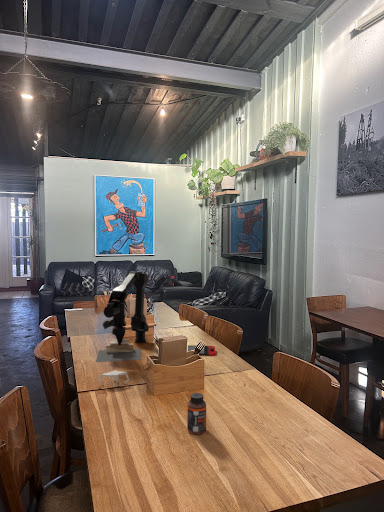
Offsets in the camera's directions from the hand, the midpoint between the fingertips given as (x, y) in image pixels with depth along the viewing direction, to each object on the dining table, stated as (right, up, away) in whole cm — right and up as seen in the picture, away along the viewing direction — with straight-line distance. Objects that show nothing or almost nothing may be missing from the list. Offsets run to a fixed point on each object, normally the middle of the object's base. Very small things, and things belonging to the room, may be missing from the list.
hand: (119, 343), depth 191 cm
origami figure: (+5, -8, -39) cm, 40 cm away
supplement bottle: (+39, -10, -75) cm, 85 cm away
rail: (0, -5, +3) cm, 6 cm away
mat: (0, -6, -3) cm, 6 cm away
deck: (0, -1, 0) cm, 1 cm away
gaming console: (+35, -6, +2) cm, 36 cm away
